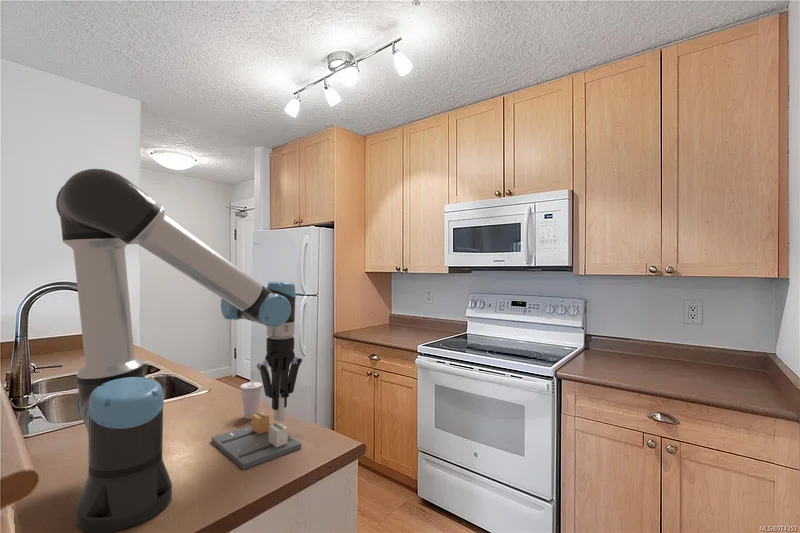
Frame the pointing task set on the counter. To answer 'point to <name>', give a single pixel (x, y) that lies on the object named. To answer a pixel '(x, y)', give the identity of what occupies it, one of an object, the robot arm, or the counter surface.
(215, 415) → the counter surface
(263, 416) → the orange fader
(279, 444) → the cream fader
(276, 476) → the counter surface
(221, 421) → the counter surface
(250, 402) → the smoothie
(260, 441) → the fader board
